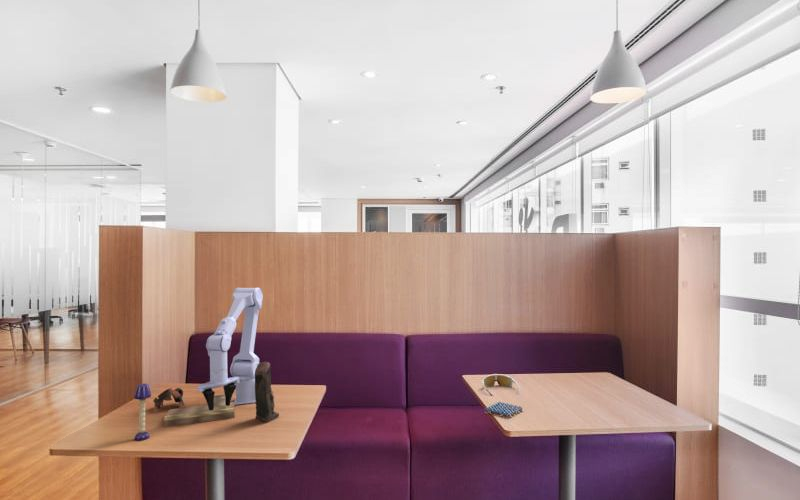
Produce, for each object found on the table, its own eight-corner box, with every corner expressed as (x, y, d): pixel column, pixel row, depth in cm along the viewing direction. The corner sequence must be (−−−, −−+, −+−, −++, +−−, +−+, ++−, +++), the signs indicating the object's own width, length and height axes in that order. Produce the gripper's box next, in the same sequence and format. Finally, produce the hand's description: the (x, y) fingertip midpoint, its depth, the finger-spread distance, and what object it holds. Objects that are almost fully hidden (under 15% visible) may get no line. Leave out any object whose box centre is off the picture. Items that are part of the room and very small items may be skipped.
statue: (279, 416, 161) (278, 359, 161) (267, 424, 154) (266, 364, 154) (263, 414, 163) (262, 358, 163) (250, 422, 156) (249, 363, 156)
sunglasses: (511, 384, 196) (512, 373, 195) (523, 400, 181) (523, 388, 180) (479, 385, 195) (479, 374, 194) (488, 402, 180) (488, 390, 179)
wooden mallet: (225, 403, 170) (225, 389, 170) (225, 411, 161) (225, 397, 161) (214, 404, 169) (214, 391, 169) (213, 413, 160) (212, 399, 160)
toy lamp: (139, 435, 146) (138, 382, 147) (154, 434, 147) (153, 382, 147) (131, 441, 142) (130, 387, 142) (147, 440, 142) (146, 386, 142)
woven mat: (482, 414, 162) (482, 408, 162) (498, 406, 169) (498, 400, 169) (509, 420, 154) (508, 414, 154) (524, 412, 162) (524, 406, 162)
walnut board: (234, 407, 172) (234, 397, 172) (234, 417, 161) (234, 407, 161) (169, 415, 165) (169, 405, 165) (164, 426, 153) (164, 416, 153)
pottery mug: (178, 413, 168) (165, 395, 166) (158, 423, 169) (145, 406, 168) (194, 395, 180) (182, 378, 178) (175, 404, 181) (163, 388, 180)
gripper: (232, 363, 170) (232, 400, 170) (193, 371, 160) (193, 410, 159) (242, 366, 166) (242, 403, 166) (202, 374, 155) (203, 414, 155)
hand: (219, 407), depth 162 cm, fingers closed on wooden mallet, 5 cm apart
